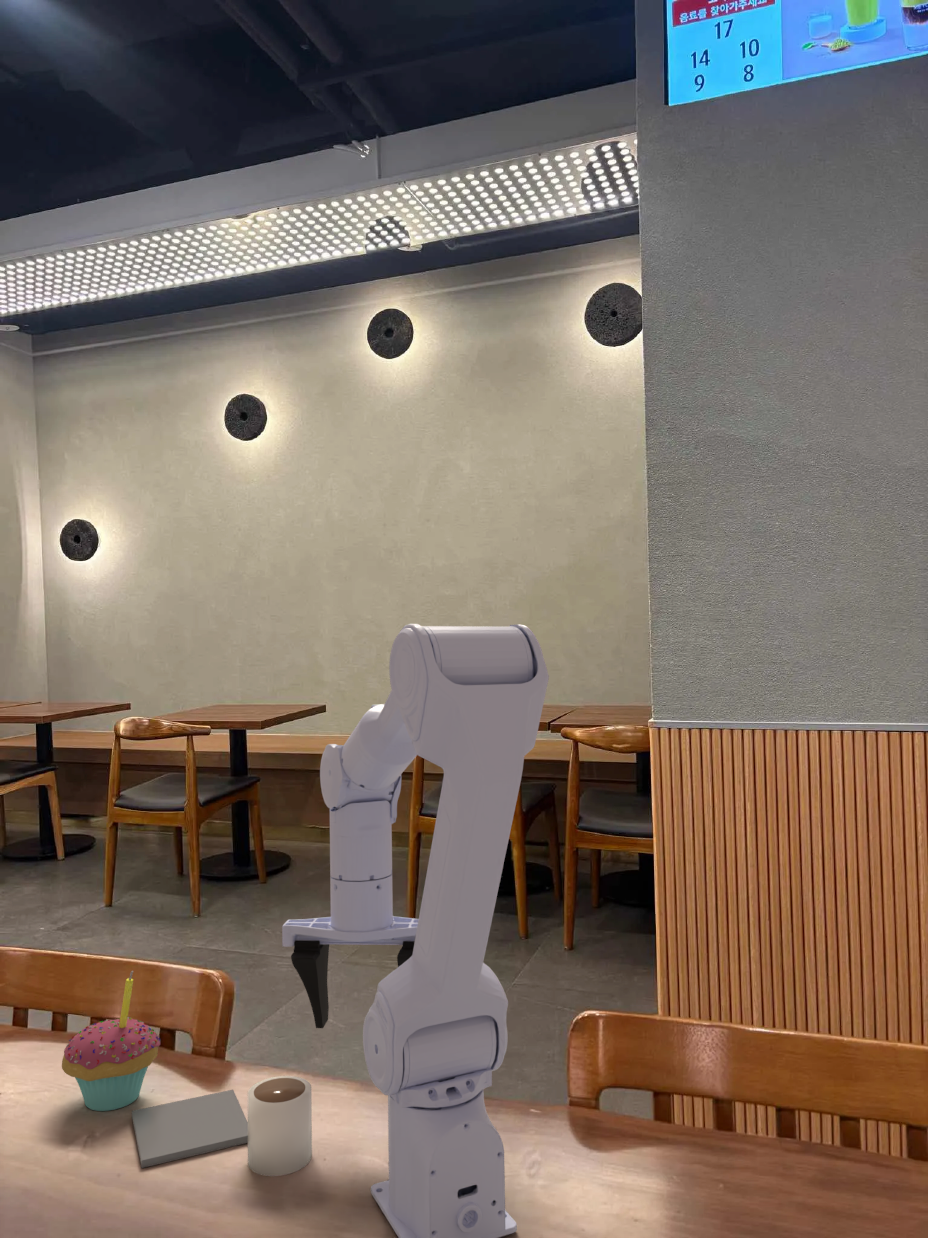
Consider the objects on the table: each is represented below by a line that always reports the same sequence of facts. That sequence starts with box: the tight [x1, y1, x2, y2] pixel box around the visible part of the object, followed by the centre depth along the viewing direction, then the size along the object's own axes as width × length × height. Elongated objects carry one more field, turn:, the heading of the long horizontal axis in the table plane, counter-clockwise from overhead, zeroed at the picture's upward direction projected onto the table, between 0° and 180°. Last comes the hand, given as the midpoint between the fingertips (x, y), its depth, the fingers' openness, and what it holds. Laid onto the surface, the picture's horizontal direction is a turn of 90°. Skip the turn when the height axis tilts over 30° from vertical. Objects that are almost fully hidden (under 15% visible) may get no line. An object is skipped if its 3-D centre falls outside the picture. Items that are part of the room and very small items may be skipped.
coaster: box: [131, 1089, 248, 1169], centre depth 79 cm, size 9×9×1 cm
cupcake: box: [61, 970, 161, 1112], centre depth 85 cm, size 9×8×12 cm
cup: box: [247, 1075, 313, 1177], centre depth 74 cm, size 5×5×6 cm
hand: (363, 1024), depth 82 cm, fingers open, 7 cm apart
